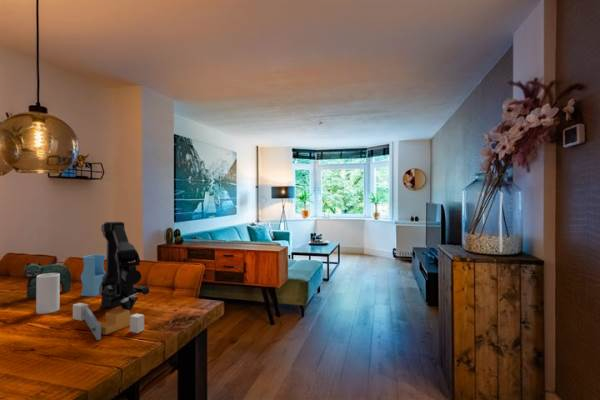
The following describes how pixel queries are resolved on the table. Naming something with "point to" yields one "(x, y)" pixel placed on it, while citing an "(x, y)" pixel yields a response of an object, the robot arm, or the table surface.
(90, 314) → the grey end-capped bar
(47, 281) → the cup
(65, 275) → the ceramic cat
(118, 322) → the wedge
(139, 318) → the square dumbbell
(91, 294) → the vase
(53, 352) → the table surface
